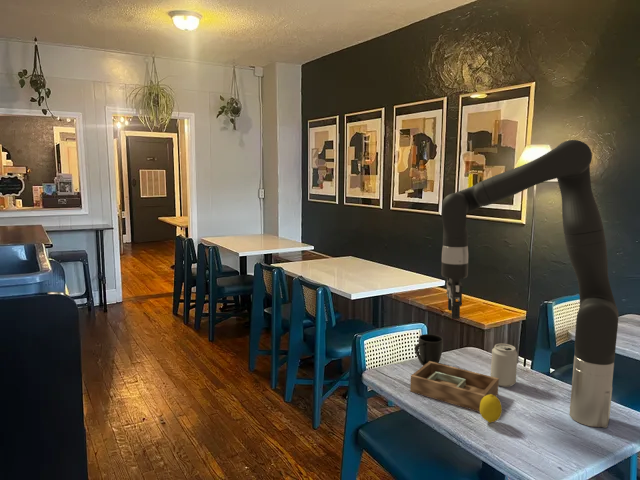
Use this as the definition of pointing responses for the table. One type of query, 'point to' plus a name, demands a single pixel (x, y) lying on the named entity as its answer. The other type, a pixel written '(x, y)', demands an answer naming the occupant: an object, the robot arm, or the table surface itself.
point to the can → (504, 364)
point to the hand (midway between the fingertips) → (453, 314)
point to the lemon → (490, 408)
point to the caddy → (453, 385)
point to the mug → (429, 348)
